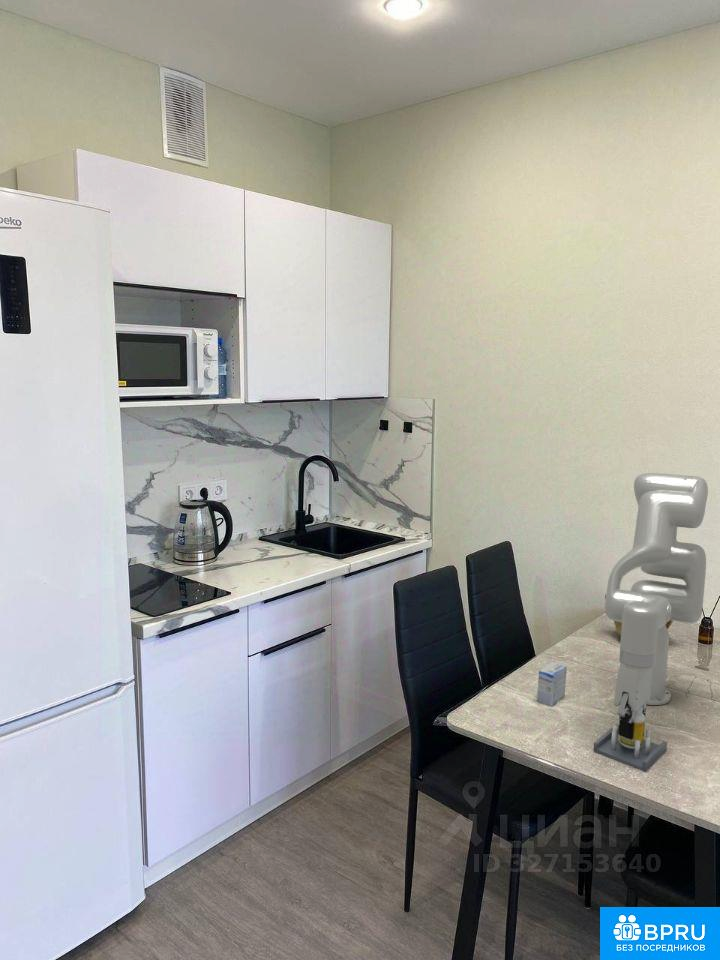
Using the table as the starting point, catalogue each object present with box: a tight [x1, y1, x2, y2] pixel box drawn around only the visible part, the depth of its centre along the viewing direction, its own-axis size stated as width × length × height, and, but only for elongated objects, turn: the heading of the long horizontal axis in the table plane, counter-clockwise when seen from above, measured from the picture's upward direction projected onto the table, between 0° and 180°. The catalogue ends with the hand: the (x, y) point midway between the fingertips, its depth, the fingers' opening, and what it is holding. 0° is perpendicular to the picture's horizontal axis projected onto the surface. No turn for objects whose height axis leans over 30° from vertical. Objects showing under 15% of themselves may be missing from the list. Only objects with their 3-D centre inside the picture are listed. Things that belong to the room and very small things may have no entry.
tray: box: [592, 723, 668, 773], centre depth 165 cm, size 12×12×5 cm
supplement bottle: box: [618, 705, 646, 749], centre depth 164 cm, size 5×5×10 cm
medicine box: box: [536, 661, 568, 707], centre depth 190 cm, size 8×4×9 cm, turn 141°
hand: (631, 731), depth 164 cm, fingers closed on supplement bottle, 5 cm apart
